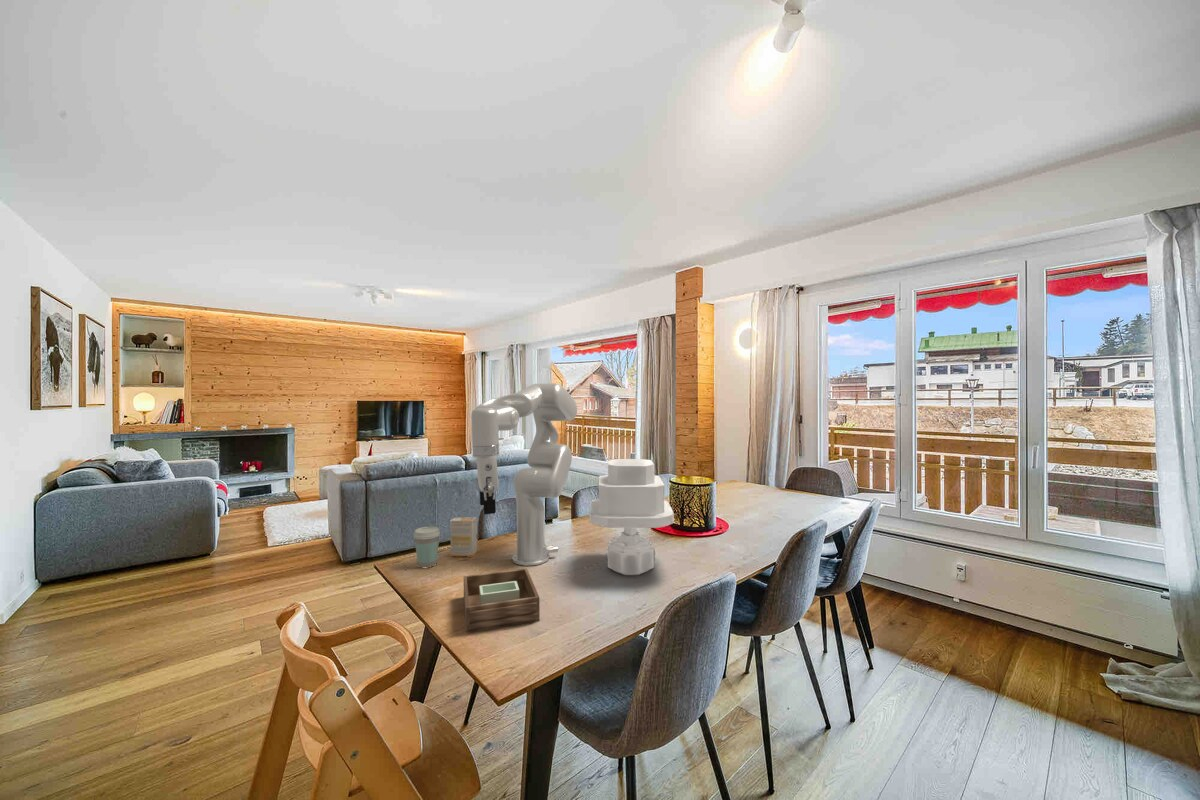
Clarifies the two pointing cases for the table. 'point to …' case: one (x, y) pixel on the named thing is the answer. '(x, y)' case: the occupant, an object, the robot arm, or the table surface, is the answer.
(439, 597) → the table surface
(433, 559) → the coffee cup
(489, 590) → the sage crate
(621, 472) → the white tiered cake stand
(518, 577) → the walnut crate
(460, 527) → the supplement box
